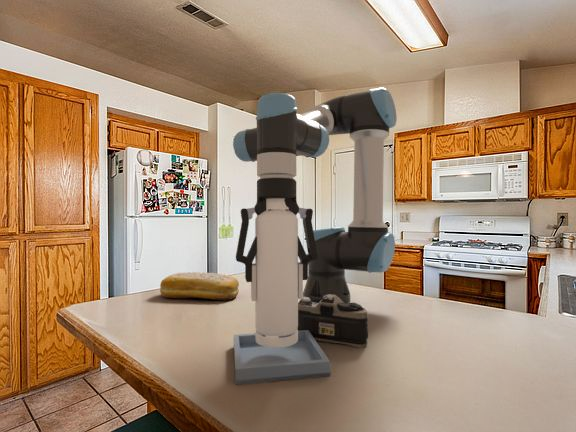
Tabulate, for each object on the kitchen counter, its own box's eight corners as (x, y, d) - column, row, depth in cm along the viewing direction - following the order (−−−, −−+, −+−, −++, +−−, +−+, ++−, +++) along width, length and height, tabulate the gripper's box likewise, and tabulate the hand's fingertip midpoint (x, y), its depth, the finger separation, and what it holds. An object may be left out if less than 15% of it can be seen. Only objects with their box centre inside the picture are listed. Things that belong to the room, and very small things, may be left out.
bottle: (293, 349, 60) (293, 190, 59) (249, 345, 61) (249, 190, 61) (301, 333, 67) (301, 193, 67) (262, 330, 69) (262, 193, 69)
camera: (373, 334, 78) (373, 291, 78) (365, 351, 69) (365, 302, 69) (309, 325, 85) (309, 285, 84) (293, 339, 75) (293, 294, 75)
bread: (171, 291, 122) (171, 269, 122) (243, 293, 120) (243, 270, 120) (153, 301, 109) (152, 276, 109) (233, 303, 106) (233, 278, 106)
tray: (308, 341, 74) (308, 329, 74) (330, 375, 58) (330, 361, 58) (233, 346, 71) (233, 334, 71) (235, 384, 55) (235, 369, 55)
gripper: (324, 181, 70) (324, 291, 70) (220, 179, 66) (221, 295, 66) (335, 177, 62) (335, 300, 62) (220, 175, 59) (220, 306, 59)
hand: (276, 297), depth 64 cm, fingers closed on bottle, 8 cm apart
